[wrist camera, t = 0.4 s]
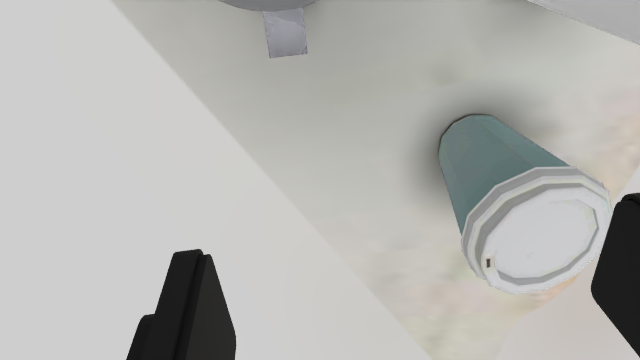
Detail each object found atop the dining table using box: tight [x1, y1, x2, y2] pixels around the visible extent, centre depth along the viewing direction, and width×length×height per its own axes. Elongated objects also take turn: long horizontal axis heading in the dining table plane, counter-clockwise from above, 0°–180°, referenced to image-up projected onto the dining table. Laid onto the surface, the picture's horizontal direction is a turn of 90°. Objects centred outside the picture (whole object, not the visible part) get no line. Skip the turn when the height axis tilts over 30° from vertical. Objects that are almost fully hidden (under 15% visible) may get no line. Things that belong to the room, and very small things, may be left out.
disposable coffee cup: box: [438, 115, 613, 294], centre depth 36 cm, size 11×11×15 cm
